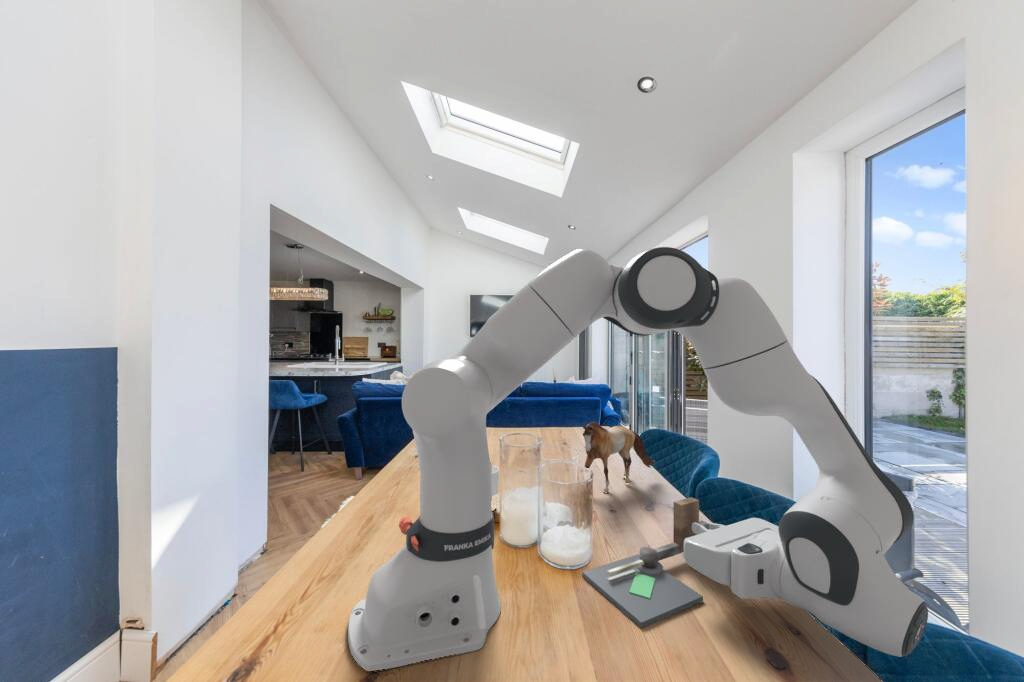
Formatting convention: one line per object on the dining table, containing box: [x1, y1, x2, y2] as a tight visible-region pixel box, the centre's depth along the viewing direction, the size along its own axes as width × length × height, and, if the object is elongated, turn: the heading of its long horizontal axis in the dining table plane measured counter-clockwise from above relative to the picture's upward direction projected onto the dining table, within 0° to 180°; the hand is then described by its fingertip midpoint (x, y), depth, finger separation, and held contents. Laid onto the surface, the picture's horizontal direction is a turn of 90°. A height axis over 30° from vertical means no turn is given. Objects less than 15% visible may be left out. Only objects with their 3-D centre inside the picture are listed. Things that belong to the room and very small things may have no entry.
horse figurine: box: [582, 421, 656, 493], centre depth 113 cm, size 31×8×21 cm, turn 127°
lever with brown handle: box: [607, 496, 700, 576], centre depth 71 cm, size 22×3×10 cm, turn 117°
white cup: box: [491, 464, 500, 501], centre depth 97 cm, size 8×8×10 cm
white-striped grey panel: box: [581, 553, 704, 629], centre depth 66 cm, size 14×14×1 cm
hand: (696, 525), depth 72 cm, fingers closed
